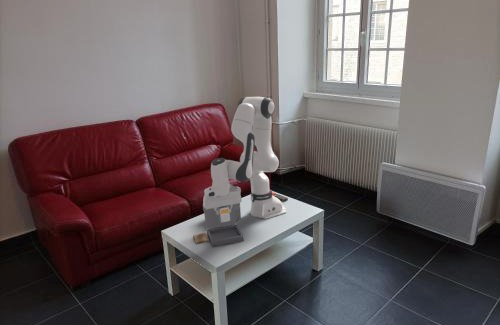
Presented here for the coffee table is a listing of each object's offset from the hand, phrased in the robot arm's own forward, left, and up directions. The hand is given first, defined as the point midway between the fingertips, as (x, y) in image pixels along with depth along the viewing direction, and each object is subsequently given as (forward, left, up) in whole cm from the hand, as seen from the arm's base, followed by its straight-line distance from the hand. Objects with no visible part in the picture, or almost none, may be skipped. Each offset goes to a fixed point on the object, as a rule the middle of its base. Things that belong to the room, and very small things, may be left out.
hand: (223, 213), depth 193 cm
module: (0, 0, -4) cm, 4 cm away
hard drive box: (-8, -25, -15) cm, 30 cm away
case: (0, 0, -15) cm, 15 cm away
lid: (0, -10, -5) cm, 11 cm away
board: (+13, -4, -15) cm, 20 cm away
